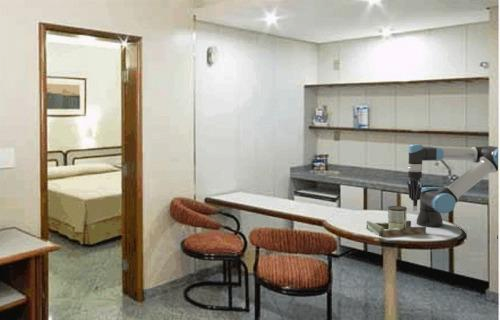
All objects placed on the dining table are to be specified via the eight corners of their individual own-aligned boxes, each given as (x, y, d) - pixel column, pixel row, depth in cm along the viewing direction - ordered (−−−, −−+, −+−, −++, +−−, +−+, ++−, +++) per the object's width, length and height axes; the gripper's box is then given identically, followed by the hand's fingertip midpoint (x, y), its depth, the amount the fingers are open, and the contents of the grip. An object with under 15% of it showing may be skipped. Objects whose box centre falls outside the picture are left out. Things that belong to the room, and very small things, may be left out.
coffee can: (385, 229, 275) (385, 205, 273) (402, 228, 275) (403, 205, 274) (391, 233, 264) (391, 209, 263) (409, 233, 265) (409, 208, 264)
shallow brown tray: (409, 226, 281) (409, 218, 280) (425, 233, 264) (426, 224, 263) (366, 229, 275) (366, 221, 275) (380, 236, 258) (380, 227, 258)
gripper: (403, 170, 274) (402, 209, 277) (415, 172, 262) (414, 213, 264) (414, 169, 276) (413, 208, 278) (427, 172, 263) (426, 213, 265)
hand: (414, 211), depth 271 cm, fingers closed
